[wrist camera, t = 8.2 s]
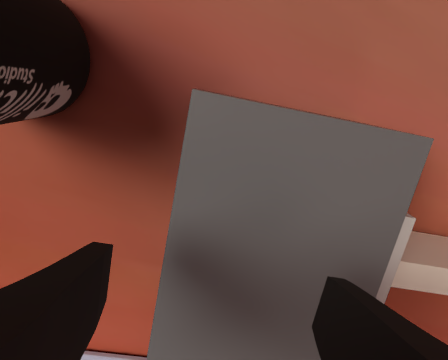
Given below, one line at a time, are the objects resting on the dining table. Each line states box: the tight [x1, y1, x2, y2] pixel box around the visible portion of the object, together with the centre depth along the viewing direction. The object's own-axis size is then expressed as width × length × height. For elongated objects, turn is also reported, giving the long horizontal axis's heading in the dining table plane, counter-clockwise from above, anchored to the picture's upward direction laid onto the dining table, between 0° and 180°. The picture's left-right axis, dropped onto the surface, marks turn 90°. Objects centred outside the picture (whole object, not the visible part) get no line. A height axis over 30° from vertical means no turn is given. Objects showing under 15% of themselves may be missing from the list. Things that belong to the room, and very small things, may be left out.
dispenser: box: [147, 89, 434, 360], centre depth 18 cm, size 14×11×7 cm
